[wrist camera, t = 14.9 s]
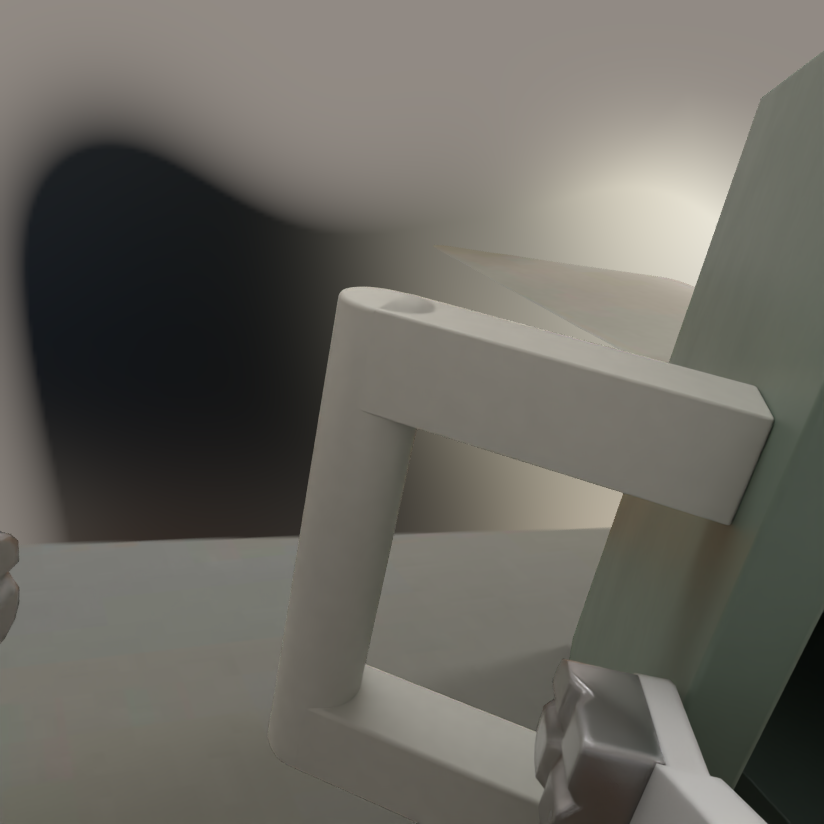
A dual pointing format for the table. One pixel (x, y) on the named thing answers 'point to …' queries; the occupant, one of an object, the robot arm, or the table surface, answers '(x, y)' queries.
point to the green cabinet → (792, 747)
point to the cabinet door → (596, 463)
